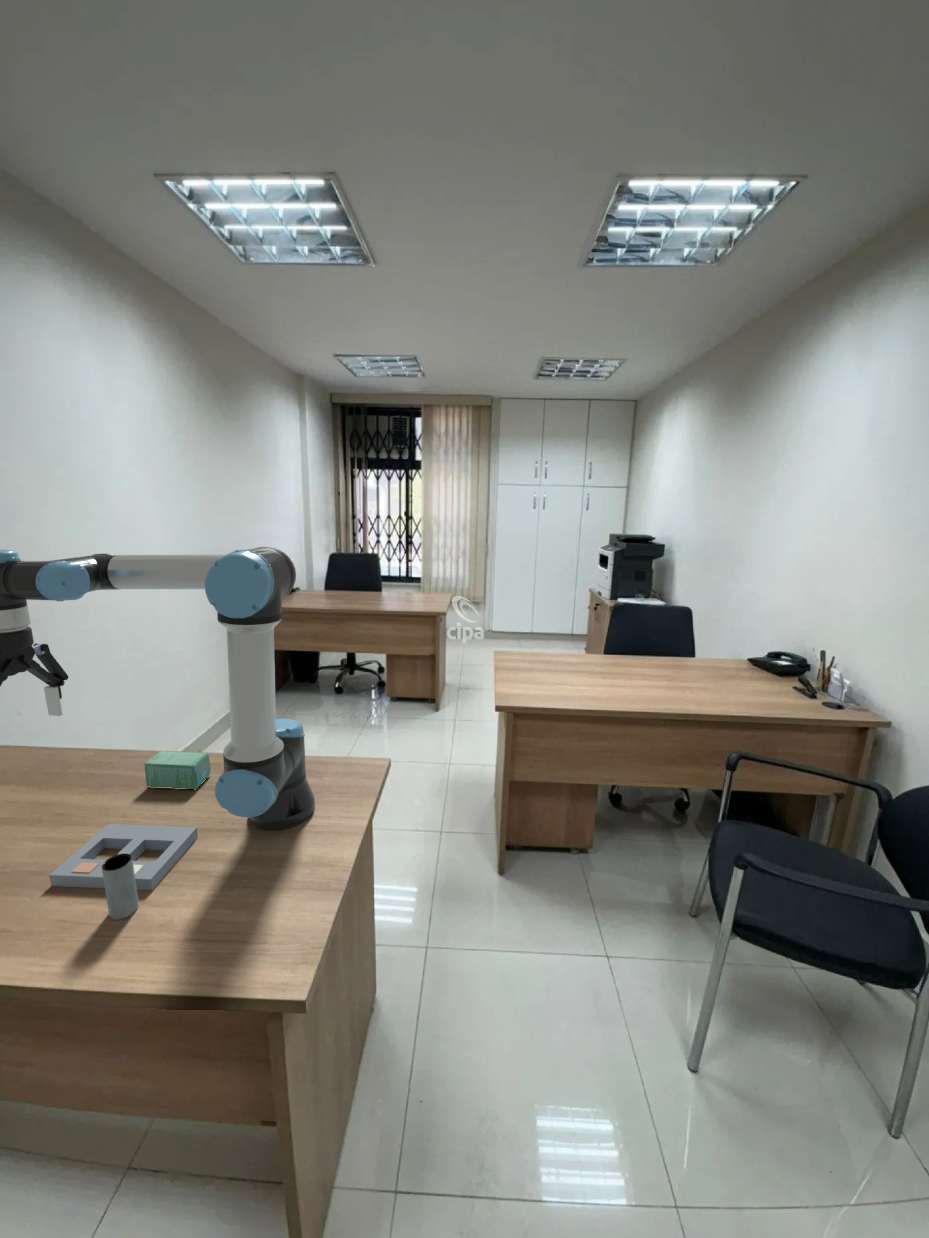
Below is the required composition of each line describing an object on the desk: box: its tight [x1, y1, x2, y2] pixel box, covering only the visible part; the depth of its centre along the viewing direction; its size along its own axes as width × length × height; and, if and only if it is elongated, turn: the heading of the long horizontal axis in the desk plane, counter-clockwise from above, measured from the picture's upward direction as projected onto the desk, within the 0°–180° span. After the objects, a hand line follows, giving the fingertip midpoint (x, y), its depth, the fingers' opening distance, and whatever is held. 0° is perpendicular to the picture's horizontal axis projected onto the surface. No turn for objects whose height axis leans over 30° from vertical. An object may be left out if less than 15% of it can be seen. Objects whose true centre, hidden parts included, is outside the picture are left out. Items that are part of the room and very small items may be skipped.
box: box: [144, 750, 211, 790], centre depth 134 cm, size 7×14×8 cm, turn 89°
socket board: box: [48, 823, 199, 891], centre depth 105 cm, size 20×16×3 cm
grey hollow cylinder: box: [102, 853, 140, 921], centre depth 91 cm, size 4×4×10 cm
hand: (25, 728), depth 104 cm, fingers open, 13 cm apart
